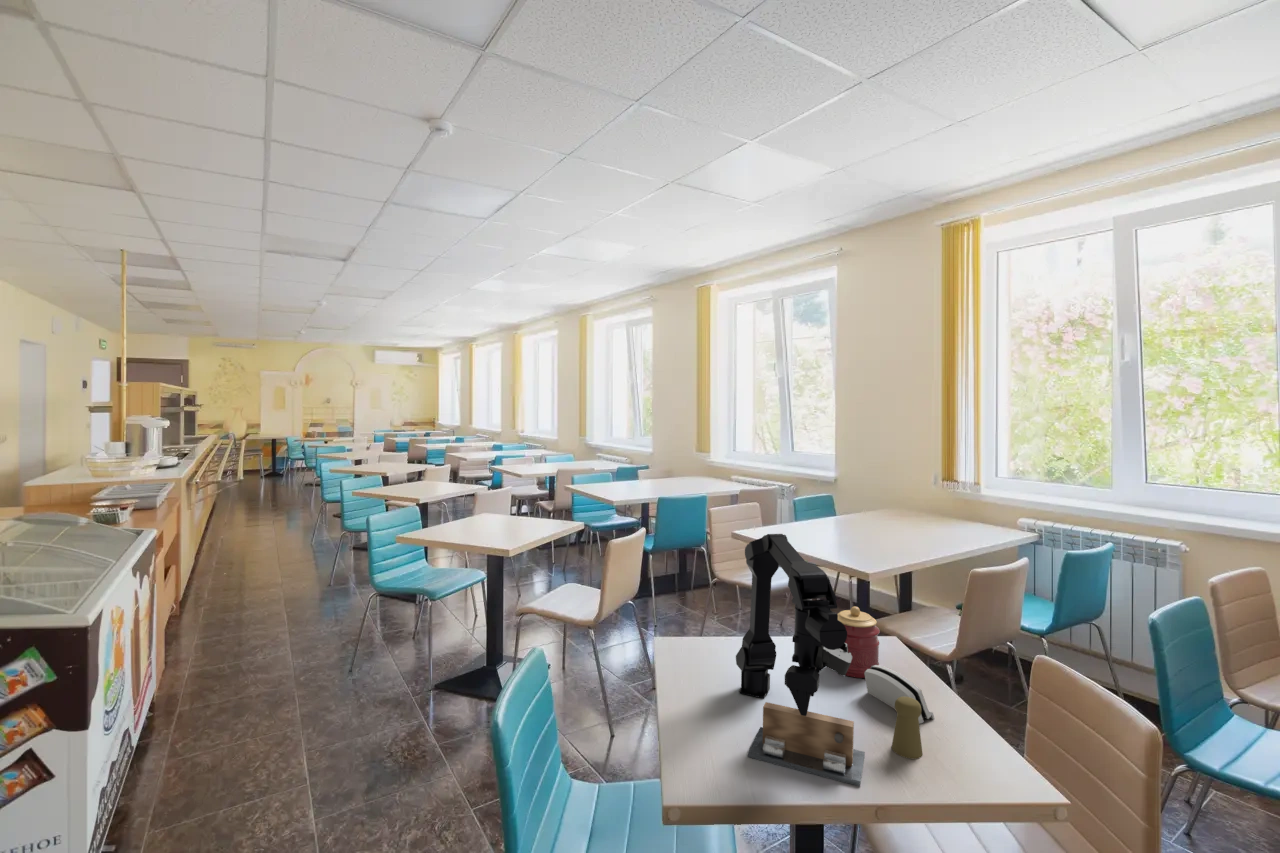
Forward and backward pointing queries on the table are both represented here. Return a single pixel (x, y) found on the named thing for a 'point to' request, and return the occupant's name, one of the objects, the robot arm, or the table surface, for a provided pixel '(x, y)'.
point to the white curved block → (894, 688)
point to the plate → (808, 760)
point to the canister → (860, 640)
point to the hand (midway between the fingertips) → (807, 705)
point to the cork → (907, 728)
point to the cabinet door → (808, 731)
